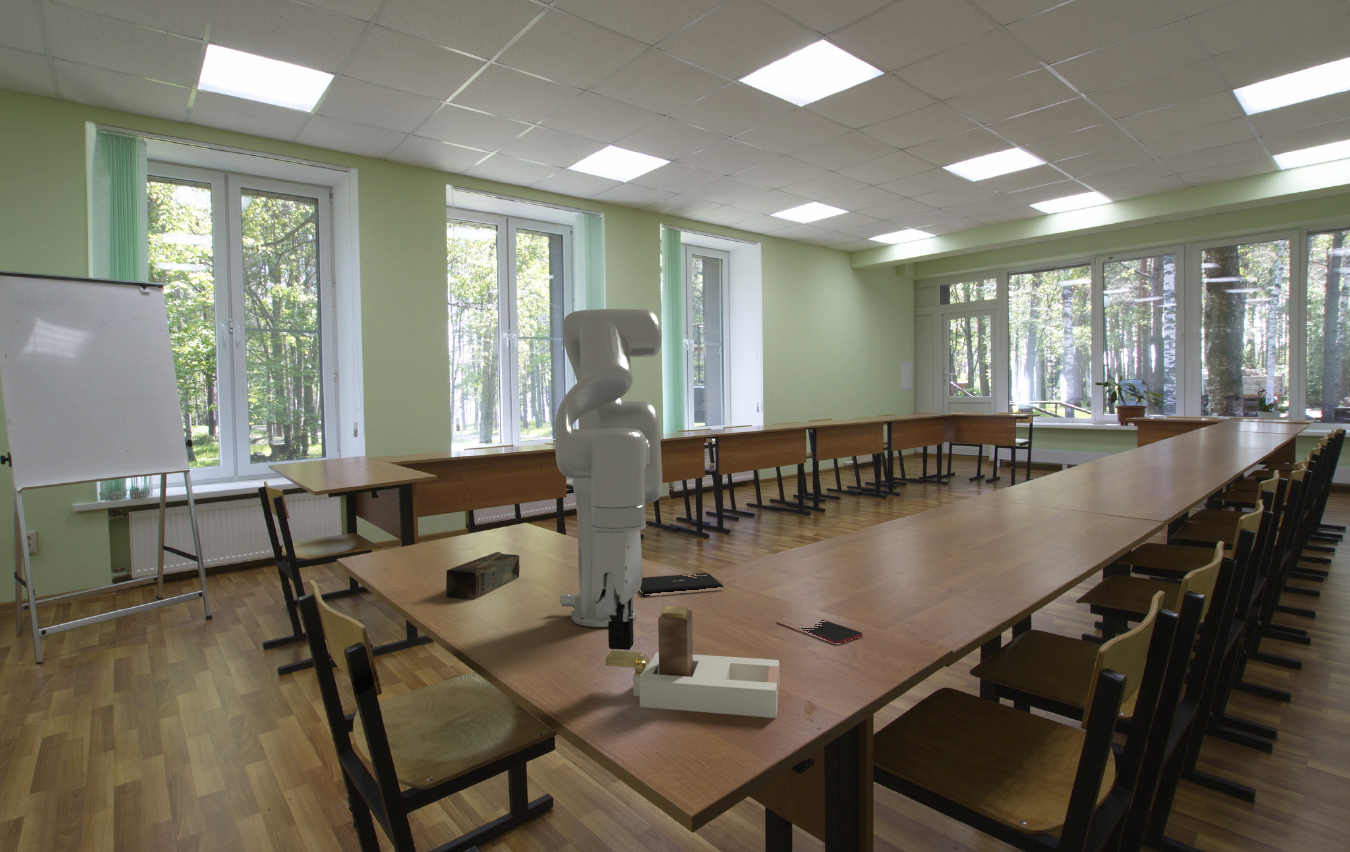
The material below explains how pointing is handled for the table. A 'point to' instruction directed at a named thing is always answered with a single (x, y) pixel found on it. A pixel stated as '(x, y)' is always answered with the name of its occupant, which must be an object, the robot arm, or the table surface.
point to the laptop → (677, 583)
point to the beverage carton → (481, 575)
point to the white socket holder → (713, 686)
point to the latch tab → (627, 660)
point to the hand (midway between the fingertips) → (621, 647)
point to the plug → (675, 642)
